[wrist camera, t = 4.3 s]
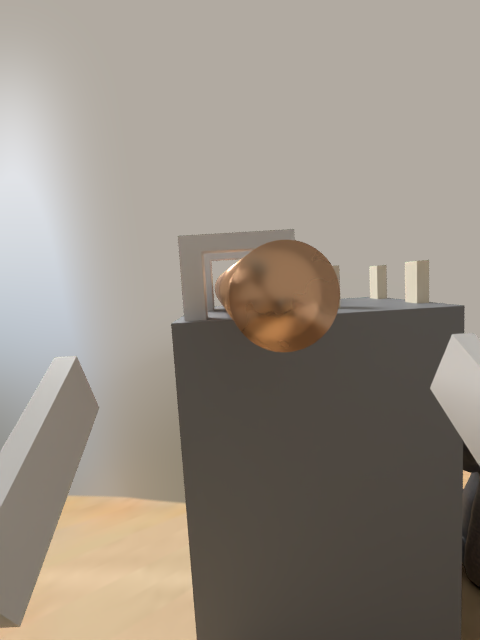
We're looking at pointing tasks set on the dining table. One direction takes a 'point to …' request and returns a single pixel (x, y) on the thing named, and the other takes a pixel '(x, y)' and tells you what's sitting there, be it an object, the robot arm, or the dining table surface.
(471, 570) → the elephant
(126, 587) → the dining table surface
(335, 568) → the grey pedestal with pegs
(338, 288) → the copper tube
